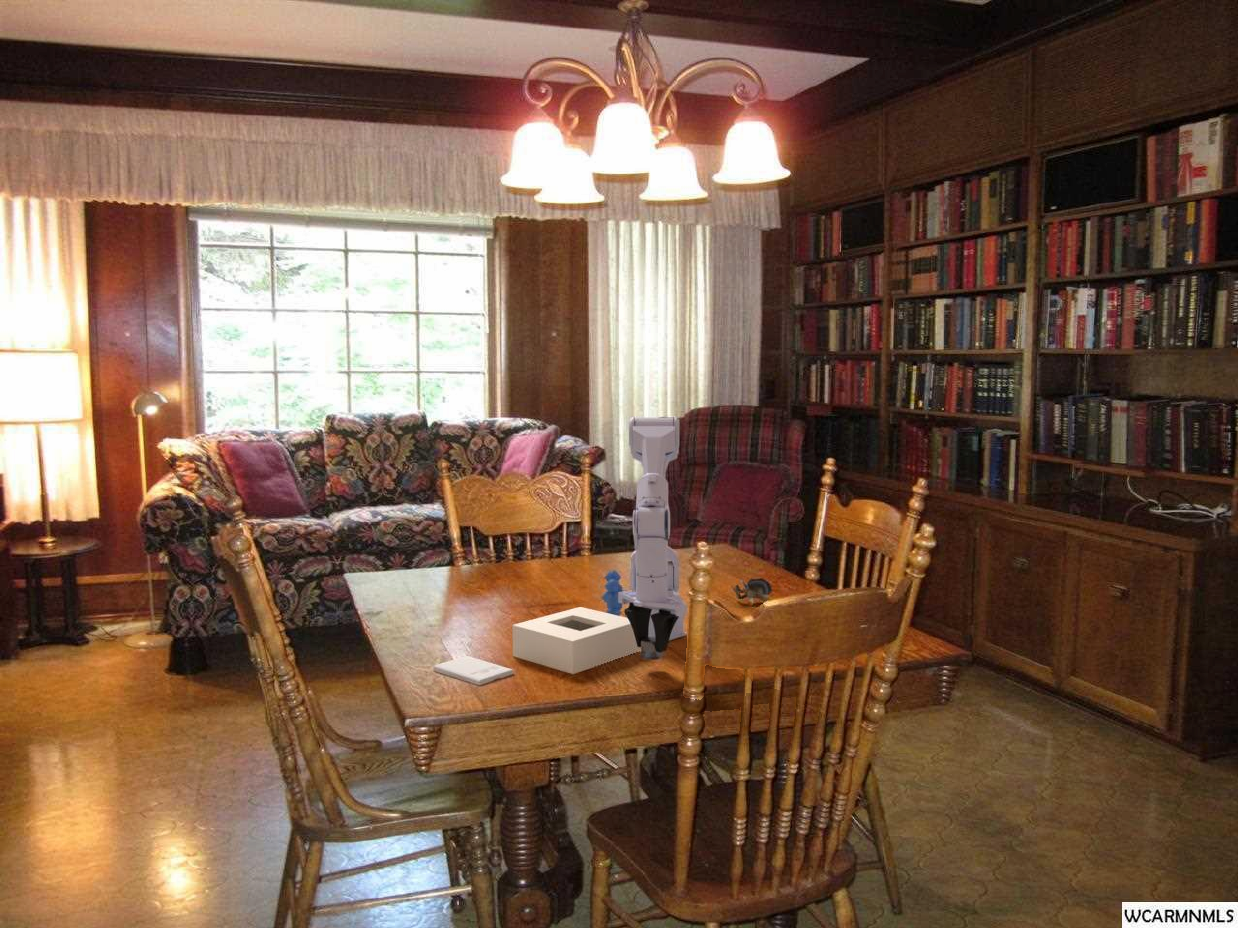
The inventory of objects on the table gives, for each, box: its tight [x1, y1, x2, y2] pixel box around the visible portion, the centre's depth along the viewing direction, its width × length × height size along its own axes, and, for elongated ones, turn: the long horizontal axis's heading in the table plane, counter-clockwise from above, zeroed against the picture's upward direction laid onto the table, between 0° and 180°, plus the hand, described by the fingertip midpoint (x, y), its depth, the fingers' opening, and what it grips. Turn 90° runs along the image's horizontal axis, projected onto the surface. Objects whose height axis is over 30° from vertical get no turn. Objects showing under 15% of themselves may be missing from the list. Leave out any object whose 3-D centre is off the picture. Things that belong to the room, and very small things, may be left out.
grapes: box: [601, 569, 628, 616], centre depth 207 cm, size 12×7×12 cm, turn 0°
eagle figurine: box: [731, 577, 773, 604], centre depth 224 cm, size 8×7×9 cm
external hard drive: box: [433, 655, 515, 686], centre depth 177 cm, size 2×8×12 cm
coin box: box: [511, 606, 641, 675], centre depth 187 cm, size 18×16×6 cm
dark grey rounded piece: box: [640, 637, 664, 661], centre depth 177 cm, size 4×4×3 cm
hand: (651, 648), depth 177 cm, fingers closed on dark grey rounded piece, 4 cm apart
